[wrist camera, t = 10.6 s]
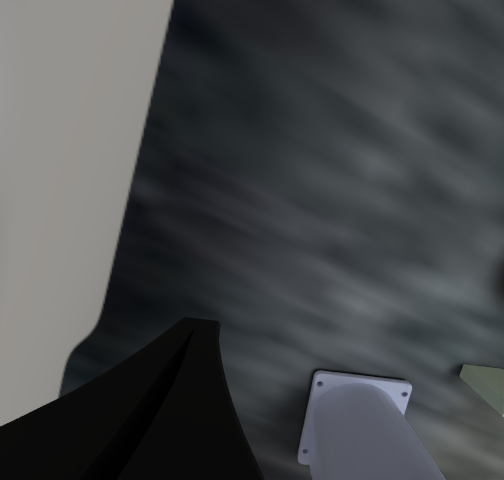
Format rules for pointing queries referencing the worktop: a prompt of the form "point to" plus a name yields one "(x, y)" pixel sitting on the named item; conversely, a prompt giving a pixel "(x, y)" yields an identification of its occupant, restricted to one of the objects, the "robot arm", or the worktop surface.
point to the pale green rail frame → (486, 384)
